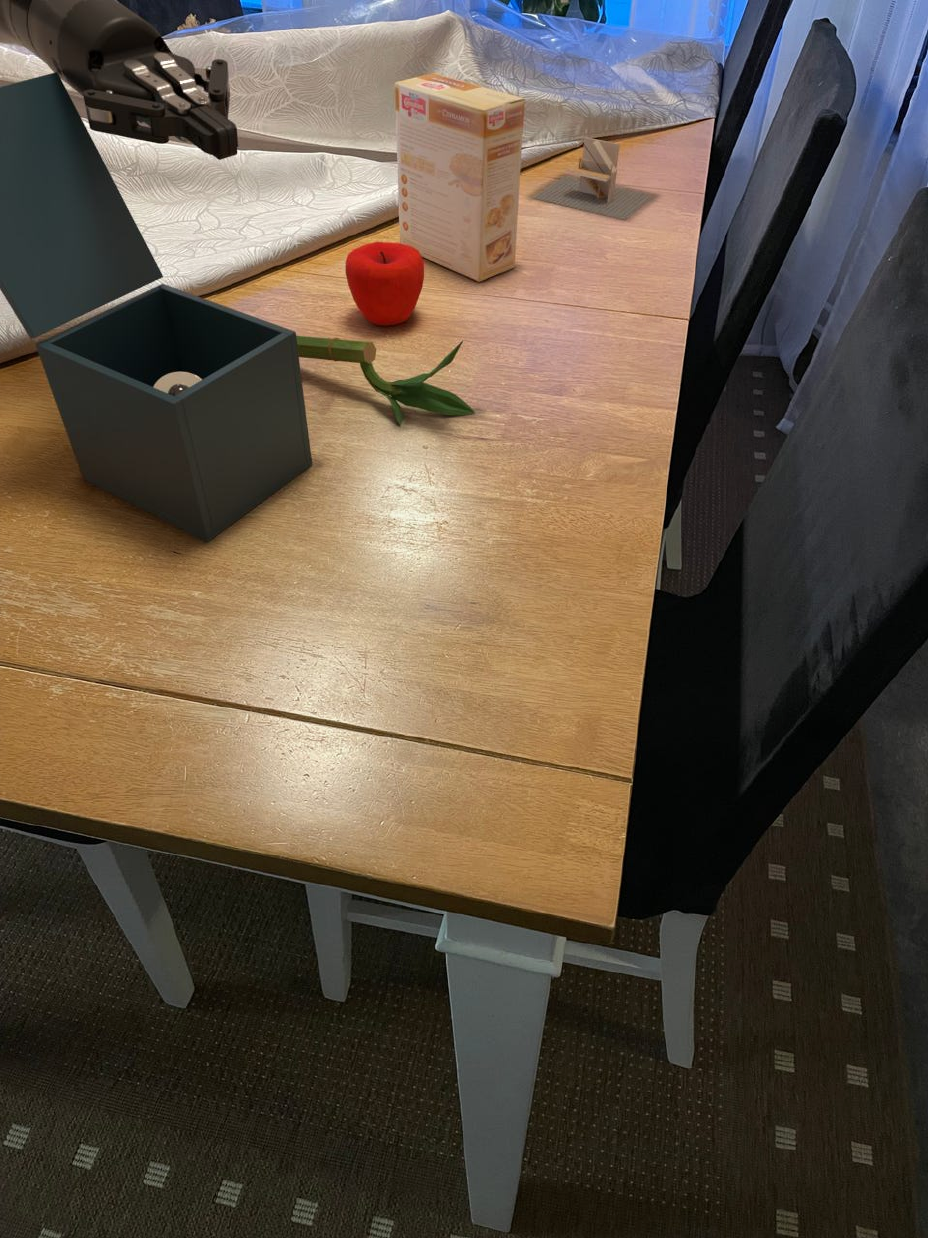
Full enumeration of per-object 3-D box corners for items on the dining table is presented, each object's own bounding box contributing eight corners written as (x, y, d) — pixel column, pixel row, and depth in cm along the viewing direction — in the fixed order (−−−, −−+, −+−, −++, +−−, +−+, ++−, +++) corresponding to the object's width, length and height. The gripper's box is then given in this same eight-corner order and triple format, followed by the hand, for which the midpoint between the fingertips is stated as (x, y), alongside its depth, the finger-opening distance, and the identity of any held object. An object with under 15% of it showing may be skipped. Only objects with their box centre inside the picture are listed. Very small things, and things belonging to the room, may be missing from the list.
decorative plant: (251, 313, 98) (483, 330, 84) (265, 386, 102) (488, 414, 88) (212, 327, 93) (449, 346, 79) (228, 403, 98) (456, 434, 84)
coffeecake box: (516, 267, 113) (527, 97, 99) (478, 283, 110) (484, 109, 96) (435, 233, 120) (435, 70, 107) (397, 247, 117) (392, 80, 103)
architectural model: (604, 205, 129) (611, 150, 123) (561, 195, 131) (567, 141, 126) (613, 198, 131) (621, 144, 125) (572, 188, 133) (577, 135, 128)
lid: (57, 71, 70) (52, 75, 70) (-102, 112, 62) (-106, 116, 62) (163, 276, 78) (158, 278, 78) (35, 337, 70) (30, 339, 70)
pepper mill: (169, 479, 78) (147, 417, 66) (169, 431, 79) (148, 362, 68) (222, 479, 79) (210, 418, 67) (222, 432, 80) (210, 364, 68)
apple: (401, 293, 107) (399, 228, 102) (439, 323, 102) (439, 256, 96) (336, 311, 104) (330, 244, 98) (371, 342, 98) (367, 274, 93)
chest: (312, 464, 82) (296, 331, 72) (207, 542, 74) (173, 403, 64) (192, 412, 88) (162, 282, 78) (82, 479, 80) (34, 343, 70)
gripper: (7, 9, 64) (141, 111, 58) (164, -19, 71) (299, 70, 65) (33, 116, 70) (157, 218, 64) (176, 81, 77) (301, 171, 71)
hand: (228, 144), depth 65 cm, fingers closed
